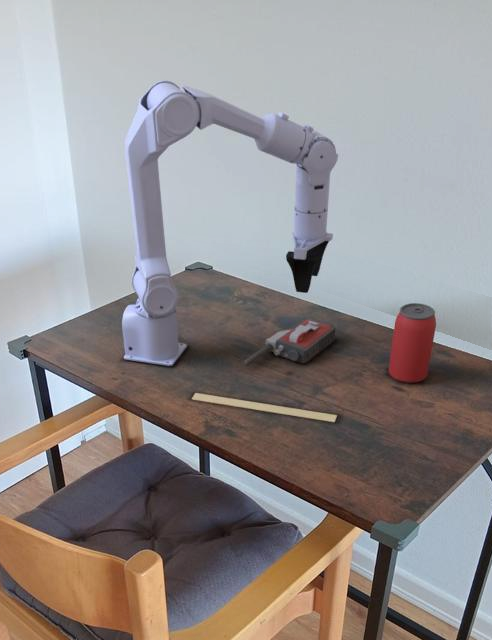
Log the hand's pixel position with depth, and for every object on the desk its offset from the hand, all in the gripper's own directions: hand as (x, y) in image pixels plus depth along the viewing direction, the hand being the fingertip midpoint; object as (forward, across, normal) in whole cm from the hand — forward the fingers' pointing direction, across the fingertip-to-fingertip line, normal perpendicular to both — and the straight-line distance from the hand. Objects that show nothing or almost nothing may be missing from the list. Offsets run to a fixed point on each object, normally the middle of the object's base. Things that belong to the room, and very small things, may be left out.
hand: (307, 283), depth 137 cm
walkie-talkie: (+10, -10, 0) cm, 14 cm away
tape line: (+9, -28, 0) cm, 30 cm away
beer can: (+10, -11, -21) cm, 26 cm away
